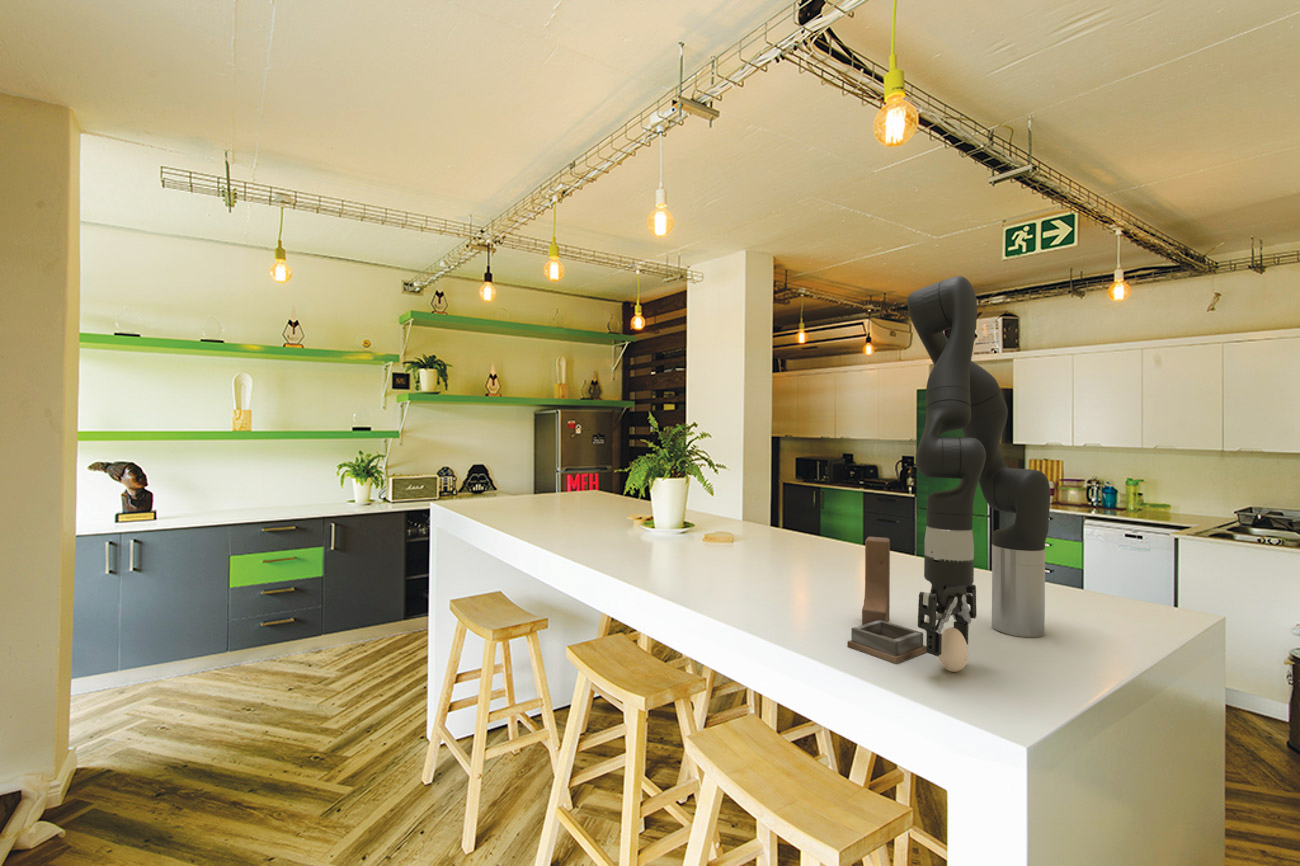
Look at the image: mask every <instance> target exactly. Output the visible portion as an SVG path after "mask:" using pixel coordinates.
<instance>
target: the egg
mask: <svg viewBox="0 0 1300 866" xmlns="http://www.w3.org/2000/svg"><path fill="white" fill-rule="evenodd" d="M941 634H942V648H941V655H939V656H937V657H938V660H939V662H940V663H941V665H942V666H943V667H944V668H945V669H946V670H947V671H949V672H952V673H956V672H959V671H962V669H964V667H965V666H966V664H967V662H968V660H969V649H968V648H969V647H968V645H967V643H966V641H965V638H964V637H963V635H962V633H961V632H960V631H959V630H958V629H956V628H954V626H949V627H947V628H946V629H944V630H942V631H941Z"/></svg>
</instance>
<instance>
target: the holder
mask: <svg viewBox="0 0 1300 866" xmlns="http://www.w3.org/2000/svg"><path fill="white" fill-rule="evenodd" d="M850 631H851V636H850V637H851V639H850V640H847V642H846V643H847V646H846V647H847V648H851V649H853V650H855V651H859V652H861V653H864V654H867V655H870V656H872V657H876V658H879V659H882V660H884V661H887V662H890V663H892V664H896V665H897V664H900V663H903V662H904V661H908V660H910V659H913V658H916V657H918V656H921V655H923V654H925V653H928V652H927V651H926V645H925V644H924V632H922V631H918V630H915V629H912V628H909V627H905V626H902V625H899V624H895V623H891V622H890V621H889V622H885V621H882V620H878V621H874V622H871V623H868V624H864V625H862V624H861V625H858V626H855V627H852V628H851V630H850Z"/></svg>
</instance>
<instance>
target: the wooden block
mask: <svg viewBox="0 0 1300 866" xmlns="http://www.w3.org/2000/svg"><path fill="white" fill-rule="evenodd" d="M864 543H865V544H864V547H865V548H864V551H865V553H864V554H865V555H864V556H865V557H864V559H865V560H864V564H865V565H864V599H863V606H862V607H861V608H862V609H861V625H864V624H868V623H871V622H874V621H878V620H882V621H885V622H889V623H890V615H891V614H890V608H891V607H890V603H891V602H890V600H891V599H890V597H891V596H890V594H891V592H890V591H891V590H890V589H891V588H890V587H891V585H890V583H891V582H890V580H891V579H890V577H891V576H890V575H891V573H890V572H891V569H890V568H891V565H890V564H891V559H890V558H891V554H890V553H891V540H890V538H889V537H879V536H867V538H866V539H865V541H864Z"/></svg>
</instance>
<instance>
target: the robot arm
mask: <svg viewBox="0 0 1300 866" xmlns="http://www.w3.org/2000/svg"><path fill="white" fill-rule="evenodd" d="M906 304H907V311H908V315H909V317H910V320H911V324H912V325H913V327H914V329H915V331H916V333H917V335H918V337H919V339H920V341H921V342H922V345H923V347H924V348H925V350H926V352H927V354H928V355H929V358H930V360H931V362H932V364H933V367H932V370H931V371H930V374H929V376H928V378H927V381H926V382H927V383H926V389H925V405H926V406H925V407H926V412H925V415H926V417H925V423H924V428H923V432H922V435H921V438H920V441H919V444H918V447H917V450H916V454H915V466H916V468H917V470H918V472H919V473H921V475H922V476H924V477H927V478H933V479H957V480H958V479H960V481H959V483H958V485H957V486H956V487H954V488H953V489H950V490H949V489H948V490H941V491H935V492H932V493H930V494H929V495H928V496H927V499H926V522H925V523H926V525H925V527H926V528H925V529H926V530H925V535H924V556H923V557H924V559H923V561H924V562H923V564H924V565H923V567H924V568H923V570H924V571H923V576H924V577H923V578H924V579H925V580H926V581H928V582H929V583H930V584H931V587H930V592H925V591H920V592H919V594H918V605H917V606H918V610H917V611H918V612H917V628H919V629H921V630H925V632H926V639H925V640H926V641H925V643H926V645H925V646H926V651H927V652H926V653H927V654H929V655H933V656H935V657H938V656H939V655H941V648H942V632H943V628H944V626H945V624H946V623H948V622H949V620H950V618H951V616H952V618H953V620H954V621H953V628H956V629H958V630H959V631H960V632H961V633H962V635H963V637H964V638H965V641H966V643H967V646H968V645H969V625H971V623H972V619H974V620H975V619H976V618H977V587H976V584H974V580H975V579H974V577H975V576H974V574H975V571H974V570H975V542H974V541H975V539H974V533H973V521H974V520H973V516H974V515H973V513H974V512H973V510H974V502H975V501H974V499H975V494H976V491H977V487H978V484H979V486H980V489H981V493H982V496H983V498H984V500H985V502H986V503H987V505H988V506H989V507H990V508H992V510H995V511H999V512H1003V513H1004V512H1005V513H1010V514H1015V519H1014V522H1013V524H1011V525H1010V526H1007V527H1003V528H999V529H996V530H994V531H993V532H992V534H991V535H992V536H991V540H992V541H991V627H992V628H993V629H994V630H996V631H997V632H1001V633H1003V634H1006V635H1011V636H1015V637H1016V636H1017V637H1023V638H1040V637H1044V636H1045V634H1046V633H1045V632H1046V630H1045V628H1046V624H1045V623H1046V622H1045V621H1046V620H1045V619H1046V541H1047V538H1048V534H1049V533H1048V532H1049V527H1050V526H1049V523H1050V508H1051V485H1050V481H1049V479H1048V477H1047V476H1046V474H1045V473H1044V472H1042V471H1041V470H1038V469H1029V468H1028V469H1027V468H1013V467H1012V468H1011V467H1009V466H1007V464H1006V463H1005V461H1004V459H1003V455H1002V452H1001V446H1000V442H1001V439H1002V436H1003V432H1004V430H1005V428H1006V424H1007V420H1008V413H1009V411H1008V405H1007V403H1006V401H1005V397H1004V395H1003V392H1002V391H1001V387H1000V386H999V385H1000V384H999V382H998V380H996V378H995V377H994V376H993V375H992V374H991V373H990V372H988V371H987V370H986V369H984V368H983V367H982V366H980V365H979V364H977V363H975V362H974V361H973V360H972V357H973V352H974V351H973V350H974V344H975V337H976V329H977V319H978V299H977V295H976V292H975V289H974V287H973V285H972V284H971V282H970V281H969V280H968V279H967V278H966V277H964V276H963V275H962V276H961V275H957V276H952V277H949V278H946V279H944V280H940V281H938V282H934V283H933V284H930V285H927V286H924V287H922V288H920V289H917V290H915V291H912V292H911V293H910V294H909V295H908V298H907V303H906ZM949 330H950V336H949V338H947V336H946V334H945V331H949ZM958 430H961V433H962V435H963V437H962V436H959V437H957V436H956V437H955V436H953V437H952V436H947V437H945V436H944V437H943V436H942V437H941V435H942V434H945V433H948V432H953V431H958ZM925 616H926V617H925Z"/></svg>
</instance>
